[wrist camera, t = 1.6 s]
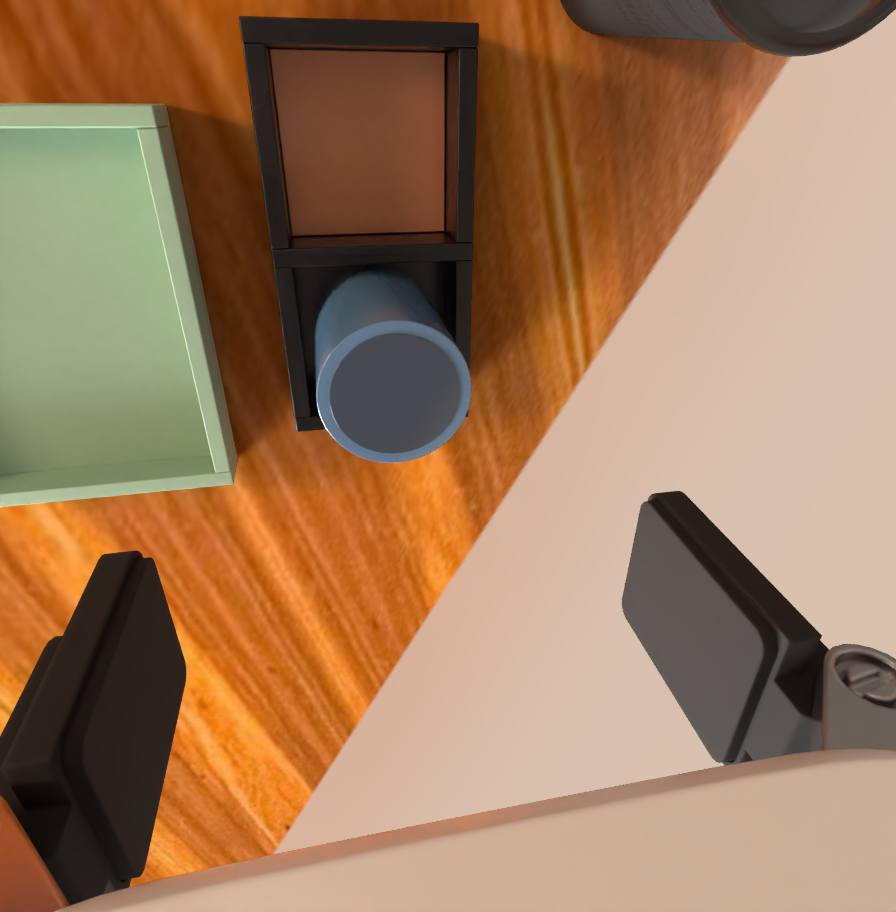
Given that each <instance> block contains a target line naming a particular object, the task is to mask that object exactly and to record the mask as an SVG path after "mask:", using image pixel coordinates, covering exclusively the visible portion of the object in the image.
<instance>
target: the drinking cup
mask: <svg viewBox="0 0 896 912" xmlns="http://www.w3.org/2000/svg"><path fill="white" fill-rule="evenodd" d="M561 3H562V5H563V7H564V9H565V11H566V13H567V14H568V16H569V17H570V18H571V20H572V21H573V22H574V23H575V24H576V25H577V26H579V27H580V28H582V29H583V30H585V31H587V32H590V33H593V34H598V35H613V36H631V37H648V38H666V39H684V40H701V41H719V42H736V43H746V44H748V45H750V46H751V47H753V48H755V49H757V50H760V51H762V52H765V53H769V54H773V55H779V56H807V55H813V54H819V53H823V52H826V51H830V50H833V49H836V48H838V47H840V46H843V45H845V44H847V43H849V42H851V41H853V40H855V39H856V38H858V37H860V36H861V35H863V34H864V33H866V32H868V31H869V30H871V29H872V28H873V27H875V26H876V25H877V24H878V23H880V22H881V21H882V20H884V19H885V18H886V17H887V16H888V15H889V14H890V13H891V12H893V11H894V10H895V9H896V0H561Z"/></svg>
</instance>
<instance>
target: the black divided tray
mask: <svg viewBox="0 0 896 912" xmlns="http://www.w3.org/2000/svg"><path fill="white" fill-rule="evenodd" d="M239 24H240V31H241V38H242V42H243V52H244V59H245V66H246V73H247V81H248V88H249V95H250V102H251V109H252V116H253V124H254V131H255V138H256V145H257V152H258V159H259V166H260V174H261V181H262V188H263V195H264V202H265V209H266V216H267V224H268V231H269V238H270V245H271V248H272V250H271V252H272V259H273V266H274V274H275V281H276V288H277V296H278V303H279V310H280V317H281V324H282V331H283V338H284V346H285V353H286V360H287V367H288V374H289V381H290V388H291V396H292V403H293V410H294V417H295V424H296V430H297V431H309V430H321V429H326V428H325V426H324V424H323V422H322V420H321V417H320V415H319V412H318V407H317V400H316V367H315V331H314V317H315V310H316V306H317V303H318V300H319V298H320V296H321V294H322V292H323V290H324V289H325V288H326V286H327V285H328V284H329V283H330V282H331V281H332V280H333V279H334V278H335V277H336V276H338V275H339V274H340V273H342V272H344V271H346V270H347V269H350V268H352V267H355V266H359V265H363V264H385V265H389V266H393V267H396V268H398V269H400V270H402V271H404V272H406V273H407V274H409V275H410V276H411V277H413V278H414V279H415V280H416V281H417V282H418V283H419V284H420V285H421V287H422V288H423V289H424V291H425V292H426V294H427V296H428V297H429V299H430V301H431V303H432V304H433V306H434V308H435V309H436V311H437V313H438V314H439V316H440V318H441V319H442V321H443V323H444V324H445V326H446V328H447V330H448V331H449V333H450V335H451V336H452V338H453V340H454V341H455V343H456V345H457V346H458V348H459V350H460V351H461V353H462V355H463V357H464V359H465V361H466V363H467V366H468V369H469V371H470V337H471V300H472V263H473V261H472V258H473V243H472V241H473V221H474V184H475V146H476V109H477V72H478V49H477V47H478V40H479V24H478V23H460V22H426V21H391V20H356V19H322V18H287V17H253V16H239ZM468 410H469V408H468ZM465 417H468V411H467V413H466V416H465Z"/></svg>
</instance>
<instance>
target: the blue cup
mask: <svg viewBox="0 0 896 912" xmlns="http://www.w3.org/2000/svg"><path fill="white" fill-rule="evenodd" d="M314 331H315V367H316V400H317V407H318V412H319V415H320V417H321V420H322V422H323V424H324V426H325V428H326V429H327V431H328V432H329V434H330V435H331V436H332V437H333V438H334V440H335V441H336V442H337V443H339V444H340V445H341V446H342V447H343V448H345V449H346V450H348V451H350V452H351V453H353V454H355V455H357V456H359V457H362V458H365V459H368V460H372V461H377V462H386V463H395V462H404V461H410V460H413V459H417V458H420V457H422V456H425V455H427V454H429V453H431V452H433V451H435V450H436V449H437V448H439V447H440V446H442V445H443V444H444V443H445V442H447V441H448V440H449V439H450V438H451V437H452V436H453V435H454V433H455V432H456V431H457V430H458V428H459V427H460V425H461V424H462V422H463V420H464V418H465V416H466V413H467V411H468V408H469V404H470V400H471V391H472V387H471V377H470V371H469V369H468V366H467V363H466V361H465V359H464V357H463V355H462V353H461V351H460V350H459V348H458V346H457V345H456V343H455V341H454V340H453V338H452V336H451V335H450V333H449V331H448V330H447V328H446V326H445V324H444V323H443V321H442V319H441V318H440V316H439V314H438V313H437V311H436V309H435V308H434V306H433V304H432V303H431V301H430V299H429V297H428V296H427V294H426V292H425V291H424V289H423V288H422V287H421V285H420V284H419V283H418V282H417V281H416V280H415V279H414V278H413V277H411V276H410V275H409V274H407V273H406V272H404V271H402V270H400V269H398V268H396V267H393V266H389V265H385V264H363V265H359V266H355V267H352V268H350V269H347V270H346V271H344V272H342V273H340V274H339V275H338V276H336V277H335V278H334V279H333V280H332V281H331V282H330V283H329V284H328V285H327V286H326V288H325V289H324V290H323V292H322V294H321V296H320V298H319V300H318V303H317V306H316V310H315V317H314Z"/></svg>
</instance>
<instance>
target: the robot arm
mask: <svg viewBox="0 0 896 912" xmlns="http://www.w3.org/2000/svg"><path fill="white" fill-rule="evenodd" d="M622 608H623V612H624V615H625V617H626V619H627V621H628V622H629V624H630V626H631V627H632V629H633V631H634V632H635V634H636V635H637V637H638V639H639V640H640V642H641V643H642V645H643V647H644V648H645V650H646V651H647V653H648V655H649V656H650V658H651V660H652V661H653V663H654V665H655V666H656V668H657V669H658V671H659V673H660V674H661V676H662V678H663V679H664V681H665V682H666V684H667V686H668V687H669V689H670V691H671V692H672V694H673V695H674V697H675V699H676V700H677V702H678V704H679V705H680V707H681V708H682V710H683V712H684V713H685V715H686V717H687V718H688V720H689V721H690V723H691V725H692V726H693V728H694V729H695V731H696V733H697V734H698V736H699V738H700V739H701V741H702V742H703V744H704V746H705V747H706V749H707V751H708V752H709V754H710V755H711V757H712V758H713V759H714V760H715V761H716V762H719V763H720V762H722V763H723V764H724V766H720V767H715V768H709V769H704V770H699V771H693V772H688V773H683V774H678V775H673V776H667V777H662V778H657V779H651V780H647V781H641V782H636V783H631V784H626V785H620V786H615V787H610V788H605V789H600V790H594V791H589V792H584V793H579V794H573V795H568V796H563V797H558V798H553V799H548V800H543V801H538V802H533V803H528V804H523V805H518V806H513V807H507V808H503V809H498V810H492V811H487V812H482V813H477V814H472V815H468V816H462V817H457V818H452V819H447V820H442V821H437V822H432V823H427V824H422V825H416V826H412V827H407V828H402V829H397V830H392V831H387V832H382V833H377V834H372V835H367V836H362V837H357V838H352V839H347V840H343V841H338V842H333V843H328V844H323V845H318V846H313V847H308V848H303V849H298V850H293V851H288V852H283V853H279V854H274V855H269V856H264V857H259V858H255V859H250V860H246V861H241V862H236V863H232V864H227V865H223V866H218V867H214V868H209V869H205V870H200V871H196V872H191V873H187V874H182V875H178V876H173V877H168V878H164V879H159V880H155V881H152V882H148V883H144V884H140V885H137V886H133V887H129V886H130V882H131V878H135V877H140V876H141V875H142V873H143V871H144V868H145V864H146V860H147V856H148V851H149V846H150V842H151V837H152V833H153V828H154V824H155V819H156V815H157V810H158V806H159V801H160V796H161V792H162V787H163V783H164V778H165V774H166V769H167V765H168V760H169V755H170V751H171V746H172V742H173V737H174V733H175V728H176V724H177V719H178V714H179V710H180V705H181V701H182V696H183V692H184V687H185V682H186V664H185V660H184V656H183V653H182V650H181V647H180V643H179V640H178V637H177V634H176V630H175V627H174V624H173V620H172V617H171V614H170V611H169V607H168V604H167V601H166V598H165V594H164V591H163V588H162V584H161V581H160V578H159V575H158V571H157V568H156V565H155V562H154V560H153V559H152V558H150V557H149V558H143V556H142V554H141V553H140V552H139V551H129V552H120V553H111V554H104V555H102V556H101V557H100V559H99V560H98V562H97V565H96V567H95V569H94V571H93V573H92V575H91V577H90V579H89V582H88V584H87V586H86V588H85V590H84V592H83V594H82V596H81V598H80V601H79V603H78V605H77V607H76V609H75V611H74V613H73V615H72V618H71V620H70V622H69V624H68V626H67V628H66V630H65V632H64V635H63V636H57V637H54V638H53V639H51V640H50V641H49V642H48V643H47V645H46V646H45V648H44V650H43V652H42V654H41V656H40V658H39V660H38V662H37V664H36V666H35V668H34V670H33V672H32V674H31V676H30V678H29V680H28V682H27V684H26V686H25V688H24V690H23V692H22V694H21V696H20V698H19V700H18V702H17V704H16V706H15V708H14V710H13V712H12V714H11V716H10V718H9V720H8V722H7V724H6V726H5V728H4V730H3V732H2V734H1V736H0V912H896V659H895V658H893V657H891V656H890V655H888V654H885V653H883V652H881V651H878V650H876V649H873V648H870V647H865V646H861V645H855V644H842V645H839V646H835V647H832V648H831V649H830V650H829V649H828V648H827V647H826V646H825V645H824V644H823V643H822V642H821V641H820V639H821V637H822V635H821V634H820V633H819V632H818V631H817V630H816V629H815V628H814V627H813V626H812V625H811V624H810V623H809V622H808V621H807V620H806V619H805V618H804V617H803V616H802V615H801V614H800V613H799V612H798V611H797V610H796V608H795V607H793V606H792V604H791V603H790V602H789V601H788V600H787V599H786V598H785V597H784V596H783V595H782V594H781V593H780V592H779V591H778V590H777V589H776V588H775V587H774V586H773V585H772V584H771V583H770V582H769V581H768V580H767V579H766V577H764V575H763V574H762V573H760V571H759V570H758V569H757V568H756V567H755V566H754V565H753V564H752V563H751V562H750V561H749V560H748V559H747V558H746V557H745V556H744V555H743V554H742V553H741V552H740V551H739V550H738V548H737V547H736V546H735V545H734V544H733V543H732V542H731V541H730V540H729V539H728V538H727V537H726V536H725V535H724V534H723V533H722V532H721V531H720V530H719V529H718V528H717V527H716V526H715V525H714V524H713V523H712V522H711V521H710V520H709V519H708V518H707V516H705V514H704V513H703V512H702V511H701V510H700V509H699V508H698V507H697V506H696V505H695V504H694V503H693V502H692V501H691V500H690V499H689V498H688V497H687V496H686V495H685V494H684V493H683V492H681V491H673V492H664V493H655V494H652V495H651V496H650V497H649V499H648V501H647V502H644V503H643V504H642V505H641V508H640V513H639V518H638V523H637V529H636V533H635V538H634V543H633V548H632V553H631V558H630V563H629V568H628V573H627V578H626V583H625V588H624V592H623V597H622Z"/></svg>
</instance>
